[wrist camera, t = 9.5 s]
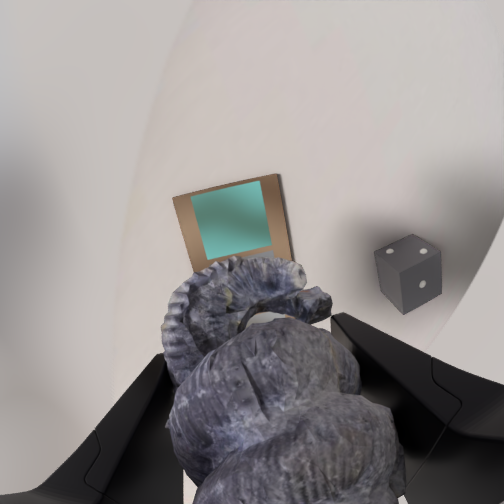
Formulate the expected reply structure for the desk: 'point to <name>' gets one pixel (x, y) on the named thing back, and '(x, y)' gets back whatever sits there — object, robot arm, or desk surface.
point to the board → (235, 225)
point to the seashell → (272, 394)
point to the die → (409, 272)
